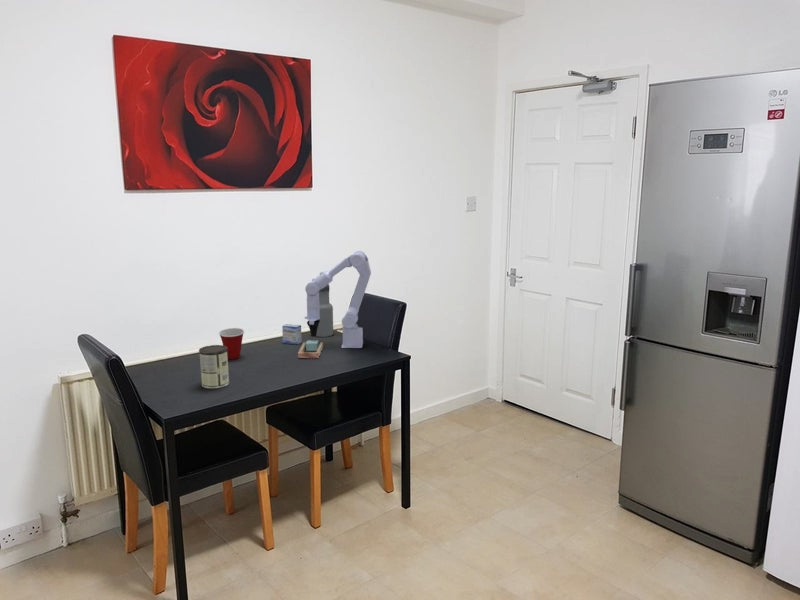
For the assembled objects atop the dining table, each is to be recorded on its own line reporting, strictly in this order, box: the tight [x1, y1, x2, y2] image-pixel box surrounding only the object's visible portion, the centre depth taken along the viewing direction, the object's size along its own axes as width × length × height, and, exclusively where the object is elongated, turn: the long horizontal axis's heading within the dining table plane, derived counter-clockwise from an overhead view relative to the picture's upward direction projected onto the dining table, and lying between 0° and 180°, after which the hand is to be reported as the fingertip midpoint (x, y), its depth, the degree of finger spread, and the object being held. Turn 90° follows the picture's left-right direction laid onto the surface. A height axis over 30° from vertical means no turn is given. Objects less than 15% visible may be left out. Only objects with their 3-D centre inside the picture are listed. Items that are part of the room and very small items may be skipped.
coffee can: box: [198, 344, 230, 389], centre depth 237 cm, size 10×10×14 cm
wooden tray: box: [297, 341, 324, 360], centre depth 280 cm, size 9×18×2 cm, turn 1°
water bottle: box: [315, 283, 334, 338], centre depth 308 cm, size 10×10×28 cm
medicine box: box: [281, 323, 303, 345], centre depth 296 cm, size 8×4×9 cm, turn 73°
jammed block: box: [305, 339, 319, 352], centre depth 284 cm, size 5×5×4 cm
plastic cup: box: [218, 327, 245, 360], centre depth 271 cm, size 11×11×12 cm
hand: (313, 336), depth 291 cm, fingers closed
